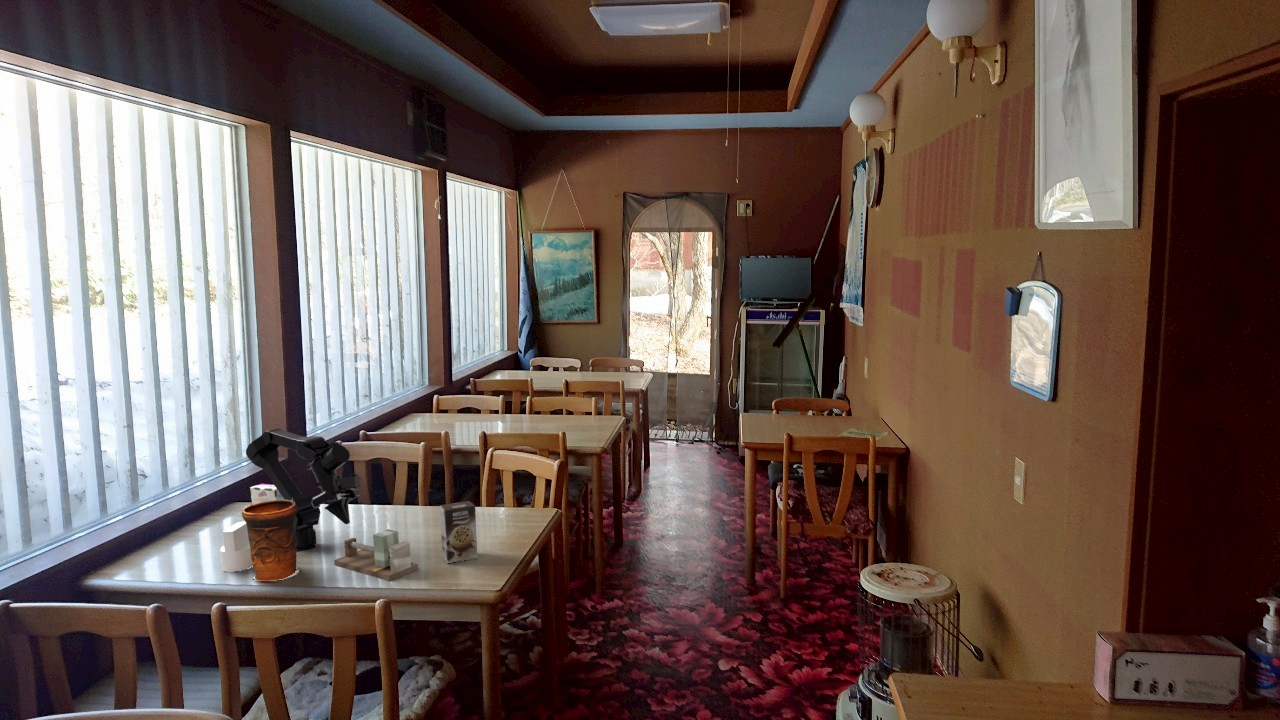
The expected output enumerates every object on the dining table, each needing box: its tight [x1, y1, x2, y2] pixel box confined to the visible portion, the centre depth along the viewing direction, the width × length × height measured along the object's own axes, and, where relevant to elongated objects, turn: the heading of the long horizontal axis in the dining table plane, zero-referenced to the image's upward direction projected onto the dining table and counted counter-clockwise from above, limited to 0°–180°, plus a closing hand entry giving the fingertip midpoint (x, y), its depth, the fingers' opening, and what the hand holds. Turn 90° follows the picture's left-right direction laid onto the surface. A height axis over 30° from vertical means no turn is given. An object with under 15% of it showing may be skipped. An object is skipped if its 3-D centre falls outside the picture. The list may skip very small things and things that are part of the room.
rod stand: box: [333, 537, 419, 582], centre depth 232 cm, size 24×10×8 cm, turn 57°
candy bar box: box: [249, 483, 284, 504], centre depth 261 cm, size 11×5×16 cm, turn 68°
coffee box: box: [439, 500, 478, 564], centre depth 237 cm, size 9×6×16 cm
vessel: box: [241, 500, 298, 582], centre depth 228 cm, size 14×14×20 cm
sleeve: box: [372, 528, 400, 568], centre depth 229 cm, size 4×5×9 cm
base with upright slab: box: [219, 521, 253, 573], centre depth 235 cm, size 9×9×12 cm
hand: (347, 523), depth 239 cm, fingers closed
